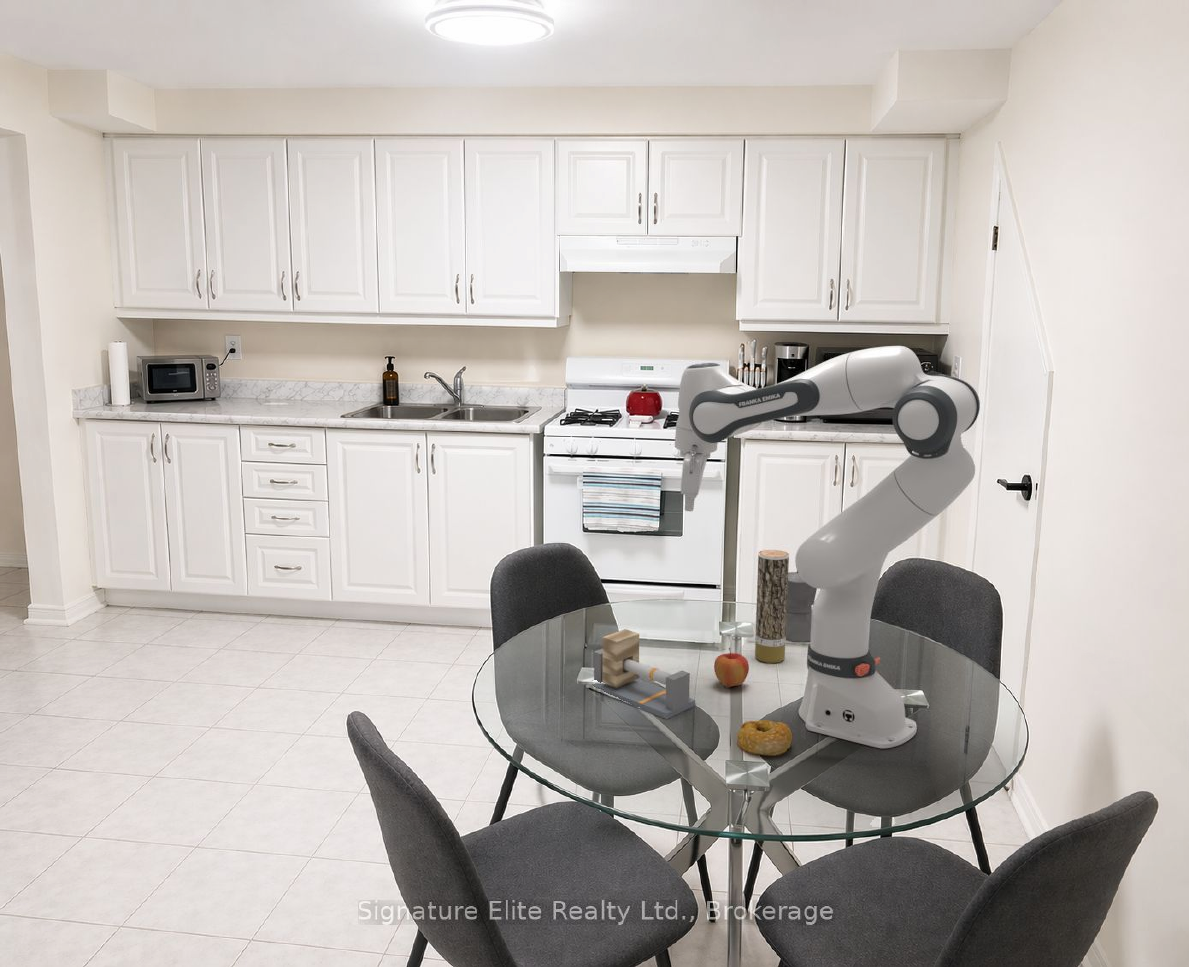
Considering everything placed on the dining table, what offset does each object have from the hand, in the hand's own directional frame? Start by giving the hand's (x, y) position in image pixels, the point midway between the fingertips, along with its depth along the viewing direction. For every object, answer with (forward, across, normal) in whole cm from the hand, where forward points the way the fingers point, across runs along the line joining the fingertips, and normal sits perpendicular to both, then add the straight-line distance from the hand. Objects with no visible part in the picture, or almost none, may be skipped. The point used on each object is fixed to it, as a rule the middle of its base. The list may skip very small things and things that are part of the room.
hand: (690, 503), depth 201 cm
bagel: (+35, -34, -19) cm, 52 cm away
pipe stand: (+38, -16, +6) cm, 42 cm away
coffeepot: (+40, +27, -28) cm, 56 cm away
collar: (+37, -13, +11) cm, 40 cm away
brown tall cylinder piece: (+39, +10, -21) cm, 45 cm away
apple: (+38, -7, -12) cm, 40 cm away
